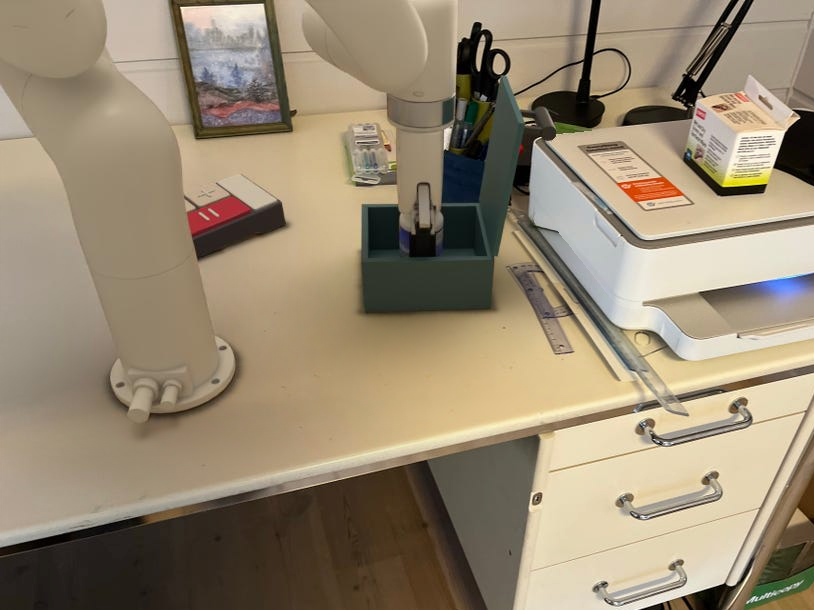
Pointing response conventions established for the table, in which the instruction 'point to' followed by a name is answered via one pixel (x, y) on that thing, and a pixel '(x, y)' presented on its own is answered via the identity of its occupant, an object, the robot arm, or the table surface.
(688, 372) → the table surface
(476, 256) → the case
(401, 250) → the pill bottle
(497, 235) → the lid
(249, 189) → the calculator
